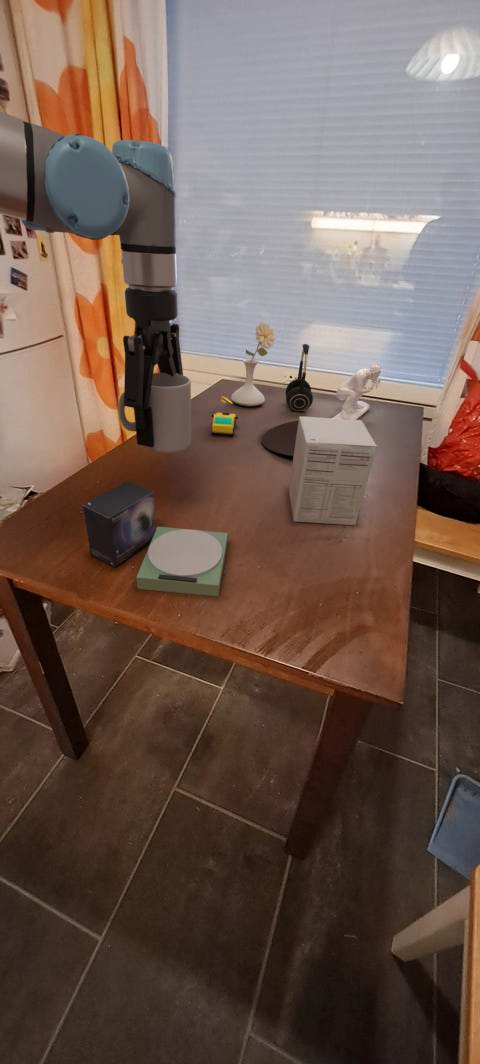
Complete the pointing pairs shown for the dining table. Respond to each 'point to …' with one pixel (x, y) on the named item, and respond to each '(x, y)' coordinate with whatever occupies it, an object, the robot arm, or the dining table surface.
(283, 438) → the plate
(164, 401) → the mug
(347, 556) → the dining table surface
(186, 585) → the scale
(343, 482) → the supplement box
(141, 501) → the small box
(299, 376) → the headphones
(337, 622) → the dining table surface
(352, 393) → the figurine
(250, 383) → the flower in vase
